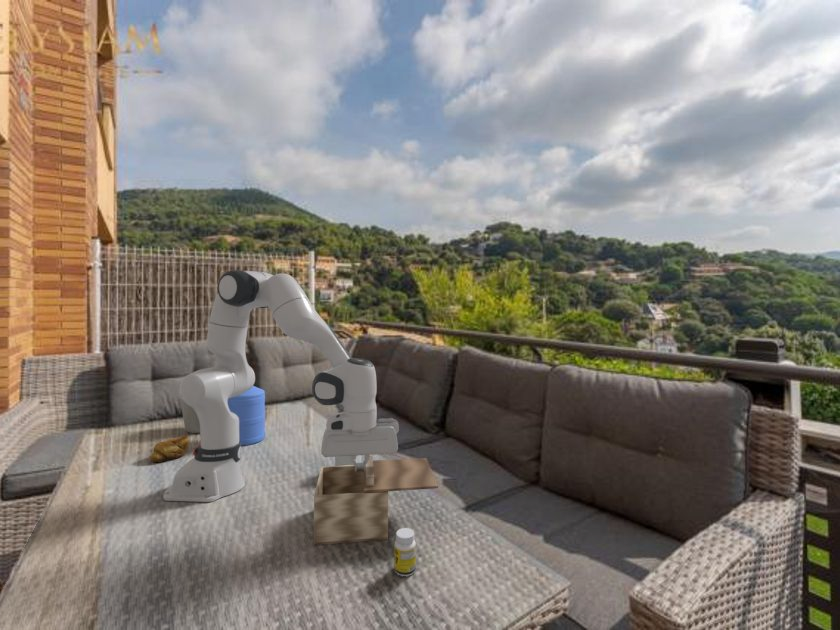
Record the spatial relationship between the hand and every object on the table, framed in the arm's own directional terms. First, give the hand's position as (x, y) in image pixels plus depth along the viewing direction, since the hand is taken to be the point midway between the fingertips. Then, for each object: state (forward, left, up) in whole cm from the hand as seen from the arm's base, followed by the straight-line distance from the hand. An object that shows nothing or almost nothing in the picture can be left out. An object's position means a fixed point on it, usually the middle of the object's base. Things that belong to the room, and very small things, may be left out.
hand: (360, 470), depth 107 cm
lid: (+10, 0, -2) cm, 10 cm away
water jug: (-49, +72, -14) cm, 88 cm away
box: (-2, 0, -14) cm, 14 cm away
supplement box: (-4, +32, -14) cm, 35 cm away
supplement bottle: (+10, -21, -14) cm, 27 cm away
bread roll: (-72, +55, -14) cm, 92 cm away
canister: (-73, +89, -14) cm, 116 cm away
